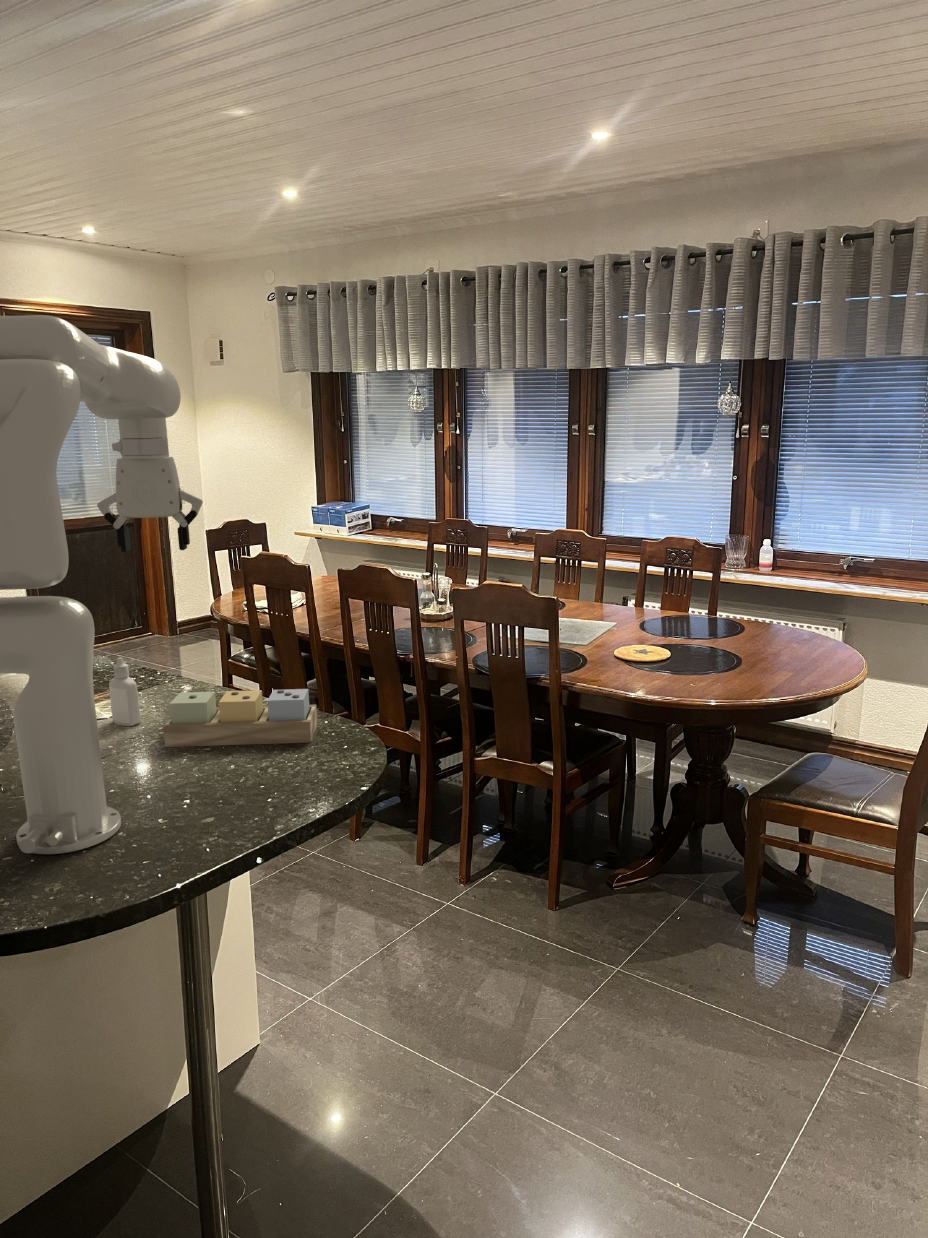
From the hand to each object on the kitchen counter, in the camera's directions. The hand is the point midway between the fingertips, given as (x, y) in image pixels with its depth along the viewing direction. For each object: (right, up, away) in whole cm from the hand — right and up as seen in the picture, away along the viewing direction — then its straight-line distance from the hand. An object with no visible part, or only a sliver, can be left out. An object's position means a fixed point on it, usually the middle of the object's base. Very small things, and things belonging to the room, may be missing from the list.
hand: (154, 550), depth 154 cm
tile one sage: (+8, -29, -3) cm, 30 cm away
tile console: (+16, -32, -2) cm, 36 cm away
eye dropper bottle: (-7, -31, +6) cm, 32 cm away
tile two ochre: (+16, -29, -2) cm, 33 cm away
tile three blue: (+24, -28, -2) cm, 37 cm away
